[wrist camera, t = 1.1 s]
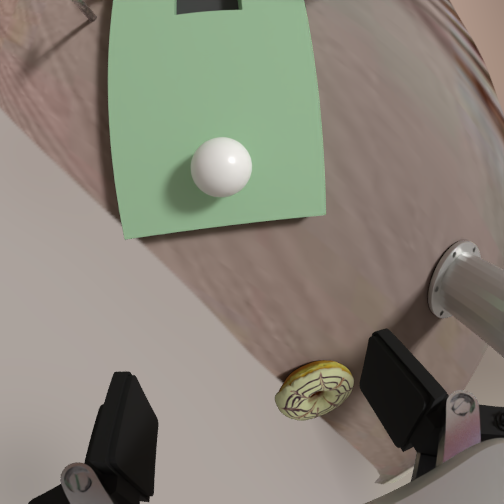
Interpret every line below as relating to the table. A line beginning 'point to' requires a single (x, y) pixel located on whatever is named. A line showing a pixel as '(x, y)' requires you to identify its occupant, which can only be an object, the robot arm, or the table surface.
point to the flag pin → (85, 9)
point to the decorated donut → (314, 390)
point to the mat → (212, 110)
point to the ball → (221, 167)
